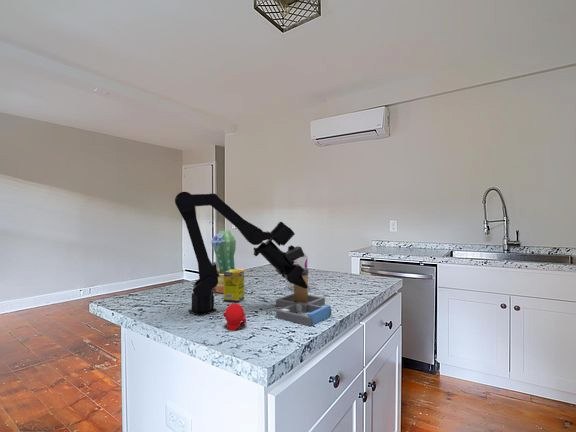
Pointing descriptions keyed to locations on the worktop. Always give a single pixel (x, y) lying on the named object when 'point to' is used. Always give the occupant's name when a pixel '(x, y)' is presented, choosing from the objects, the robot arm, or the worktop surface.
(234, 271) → the supplement box
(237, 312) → the red lumpy figurine
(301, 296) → the vitamin jar
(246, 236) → the robot arm
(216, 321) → the worktop surface
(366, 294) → the worktop surface
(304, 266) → the supplement can
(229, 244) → the potted cactus
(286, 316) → the divided tray
